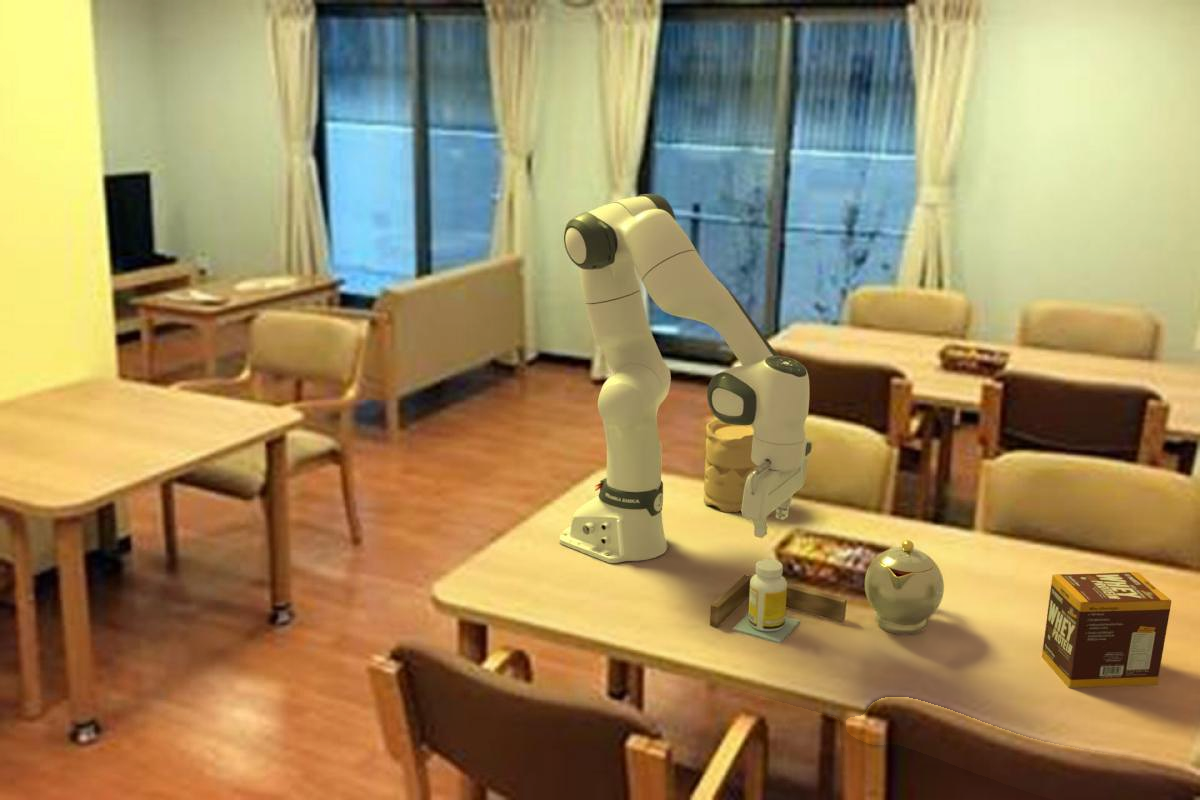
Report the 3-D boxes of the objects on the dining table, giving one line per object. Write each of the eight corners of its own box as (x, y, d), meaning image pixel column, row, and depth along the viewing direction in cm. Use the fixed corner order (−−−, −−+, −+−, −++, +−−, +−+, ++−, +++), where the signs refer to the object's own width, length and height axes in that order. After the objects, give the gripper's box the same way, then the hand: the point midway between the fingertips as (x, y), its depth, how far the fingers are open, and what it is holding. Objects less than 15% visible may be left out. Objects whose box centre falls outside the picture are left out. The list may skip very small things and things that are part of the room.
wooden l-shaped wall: (709, 625, 211) (710, 605, 209) (745, 592, 223) (746, 573, 222) (814, 655, 201) (815, 633, 200) (845, 618, 214) (846, 598, 212)
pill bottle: (792, 625, 210) (796, 566, 207) (767, 636, 206) (770, 576, 203) (765, 612, 215) (768, 553, 211) (740, 622, 211) (743, 563, 207)
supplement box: (1039, 656, 201) (1051, 573, 197) (1126, 653, 203) (1139, 570, 198) (1067, 688, 192) (1080, 601, 187) (1158, 685, 193) (1173, 599, 188)
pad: (732, 630, 209) (732, 628, 209) (753, 610, 216) (753, 608, 216) (780, 643, 205) (780, 641, 204) (799, 622, 212) (799, 620, 212)
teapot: (930, 651, 202) (939, 564, 198) (852, 634, 208) (859, 549, 203) (949, 608, 218) (958, 526, 213) (876, 593, 224) (883, 513, 219)
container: (745, 517, 258) (749, 439, 253) (694, 505, 264) (696, 429, 259) (768, 498, 268) (772, 423, 263) (718, 488, 274) (721, 414, 269)
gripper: (771, 474, 191) (764, 552, 195) (816, 439, 208) (809, 512, 212) (735, 466, 194) (729, 542, 198) (783, 432, 211) (776, 504, 215)
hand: (771, 526), depth 205 cm, fingers open, 8 cm apart
